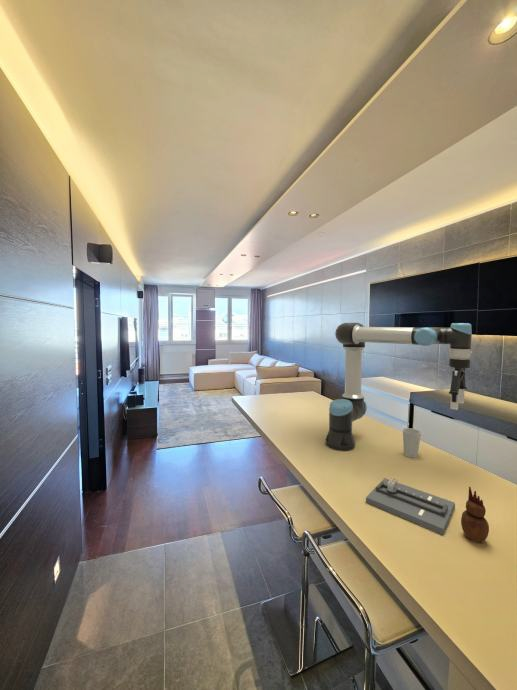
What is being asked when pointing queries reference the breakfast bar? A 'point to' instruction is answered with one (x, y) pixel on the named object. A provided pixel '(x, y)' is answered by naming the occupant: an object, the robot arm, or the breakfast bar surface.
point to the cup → (411, 442)
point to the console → (413, 505)
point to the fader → (392, 486)
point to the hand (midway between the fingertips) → (457, 406)
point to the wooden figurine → (475, 519)
